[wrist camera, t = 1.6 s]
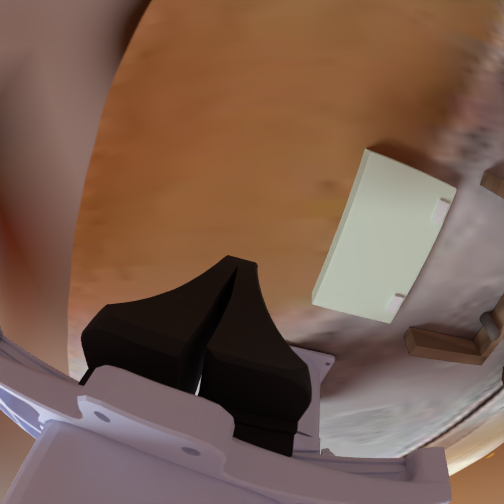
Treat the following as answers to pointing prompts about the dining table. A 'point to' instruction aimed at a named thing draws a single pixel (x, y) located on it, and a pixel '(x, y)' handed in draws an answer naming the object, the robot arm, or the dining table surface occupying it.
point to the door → (382, 238)
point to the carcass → (457, 348)
